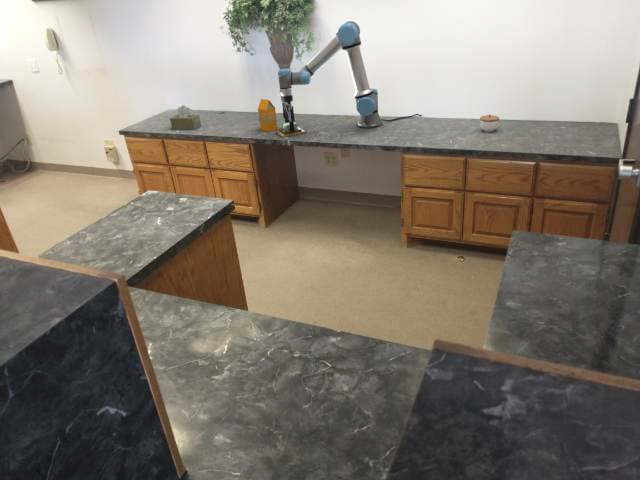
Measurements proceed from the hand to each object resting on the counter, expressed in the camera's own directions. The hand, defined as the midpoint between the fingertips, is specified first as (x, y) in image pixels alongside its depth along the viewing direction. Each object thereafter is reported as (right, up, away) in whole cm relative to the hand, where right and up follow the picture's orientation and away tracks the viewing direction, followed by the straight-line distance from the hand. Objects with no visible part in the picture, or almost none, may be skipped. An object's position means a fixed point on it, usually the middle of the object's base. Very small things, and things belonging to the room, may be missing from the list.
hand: (290, 130), depth 330 cm
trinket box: (+119, -6, -28) cm, 123 cm away
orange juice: (-15, +3, +12) cm, 19 cm away
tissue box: (-76, +9, +33) cm, 83 cm away
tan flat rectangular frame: (0, -1, +1) cm, 1 cm away
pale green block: (0, 0, 0) cm, 0 cm away
